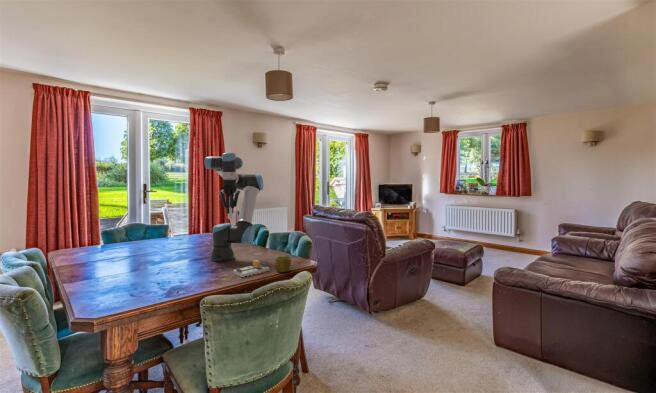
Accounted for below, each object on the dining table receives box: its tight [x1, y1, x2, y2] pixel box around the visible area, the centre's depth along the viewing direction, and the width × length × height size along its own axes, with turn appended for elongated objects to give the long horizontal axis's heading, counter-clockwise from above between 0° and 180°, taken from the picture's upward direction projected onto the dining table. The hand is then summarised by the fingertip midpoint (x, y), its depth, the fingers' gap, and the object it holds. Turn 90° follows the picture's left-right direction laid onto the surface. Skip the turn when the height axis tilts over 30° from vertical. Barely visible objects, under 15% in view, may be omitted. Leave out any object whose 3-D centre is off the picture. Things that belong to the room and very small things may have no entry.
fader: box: [252, 259, 261, 268], centre depth 190 cm, size 4×2×4 cm, turn 43°
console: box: [232, 261, 270, 278], centre depth 187 cm, size 10×18×4 cm, turn 133°
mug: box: [275, 255, 292, 273], centre depth 192 cm, size 12×10×10 cm
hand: (229, 218), depth 191 cm, fingers closed
